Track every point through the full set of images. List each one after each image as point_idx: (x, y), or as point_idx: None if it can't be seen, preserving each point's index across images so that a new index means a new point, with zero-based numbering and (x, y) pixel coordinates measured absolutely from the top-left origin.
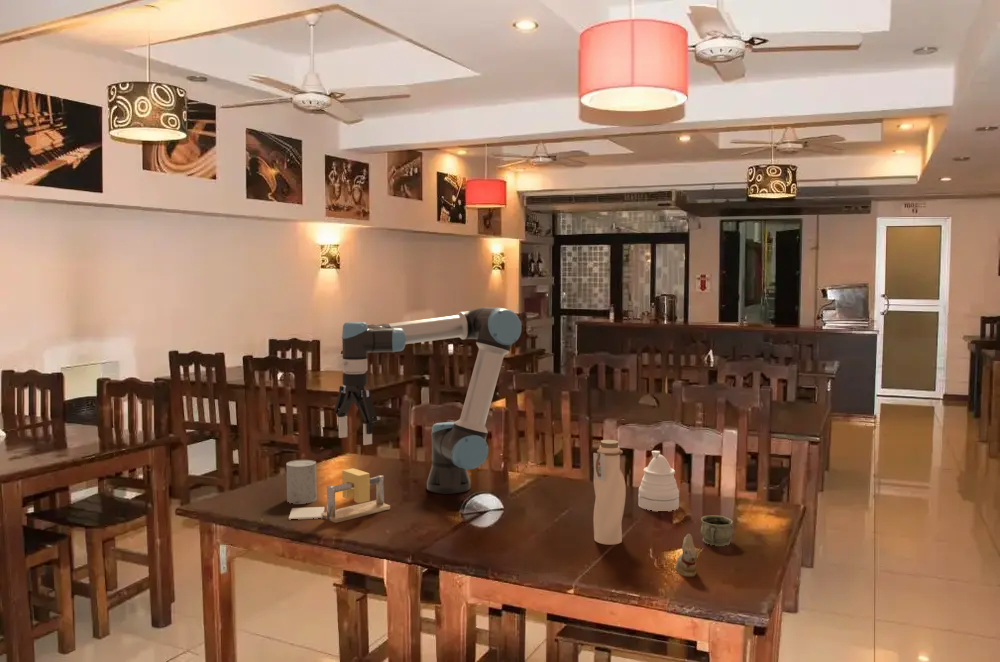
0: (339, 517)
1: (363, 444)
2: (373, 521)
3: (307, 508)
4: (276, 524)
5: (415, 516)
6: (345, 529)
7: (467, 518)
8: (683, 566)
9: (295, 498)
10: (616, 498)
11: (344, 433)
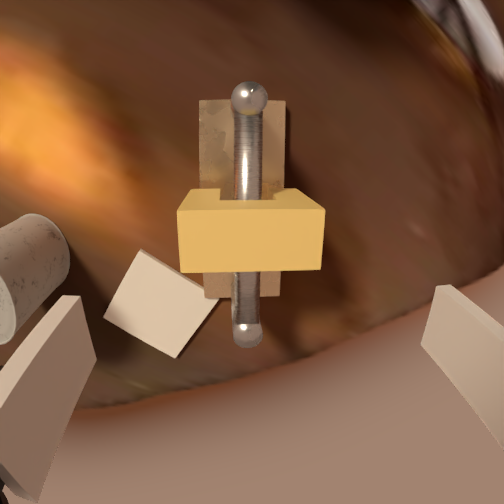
0: (275, 281)
1: (424, 345)
2: (340, 210)
3: (126, 292)
4: (189, 382)
5: (386, 101)
6: (336, 296)
7: (464, 45)
8: None
9: (54, 289)
10: None
11: (75, 343)
